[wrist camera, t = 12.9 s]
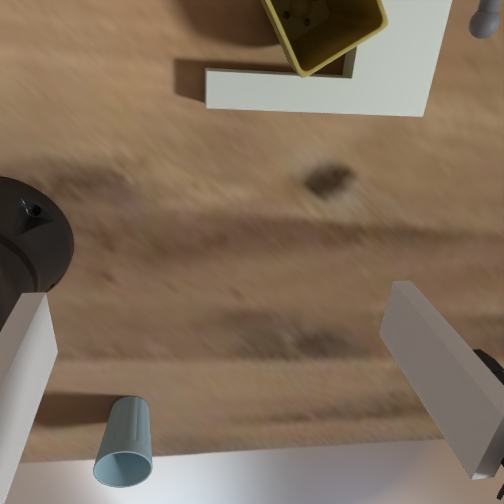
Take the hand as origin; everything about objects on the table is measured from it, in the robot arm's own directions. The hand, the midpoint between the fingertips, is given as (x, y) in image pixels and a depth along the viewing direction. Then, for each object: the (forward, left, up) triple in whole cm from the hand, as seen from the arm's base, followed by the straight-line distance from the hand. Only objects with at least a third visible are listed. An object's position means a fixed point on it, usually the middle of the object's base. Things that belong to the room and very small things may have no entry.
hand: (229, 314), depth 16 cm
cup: (-10, -44, -35) cm, 57 cm away
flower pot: (+10, +12, -35) cm, 38 cm away
